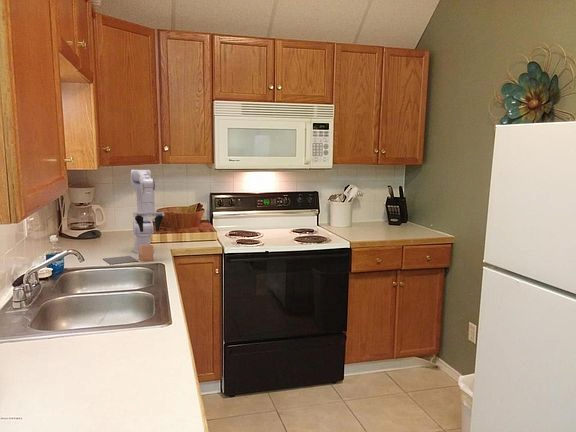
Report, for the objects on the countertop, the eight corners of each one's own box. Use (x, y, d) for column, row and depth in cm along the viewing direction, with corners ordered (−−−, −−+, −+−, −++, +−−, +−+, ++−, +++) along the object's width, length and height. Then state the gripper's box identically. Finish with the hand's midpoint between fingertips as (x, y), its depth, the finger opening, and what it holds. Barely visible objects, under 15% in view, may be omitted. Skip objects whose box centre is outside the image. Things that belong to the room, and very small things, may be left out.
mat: (102, 259, 220) (102, 258, 220) (129, 256, 228) (129, 255, 228) (110, 264, 210) (110, 263, 209) (138, 261, 217) (138, 260, 217)
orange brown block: (138, 259, 222) (138, 245, 222) (149, 257, 226) (149, 244, 225) (142, 261, 218) (142, 246, 217) (153, 259, 221) (153, 245, 220)
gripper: (136, 202, 211) (137, 231, 210) (166, 202, 219) (167, 230, 218) (131, 204, 216) (132, 232, 215) (160, 204, 225) (162, 231, 224)
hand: (149, 231), depth 217 cm, fingers open, 7 cm apart
